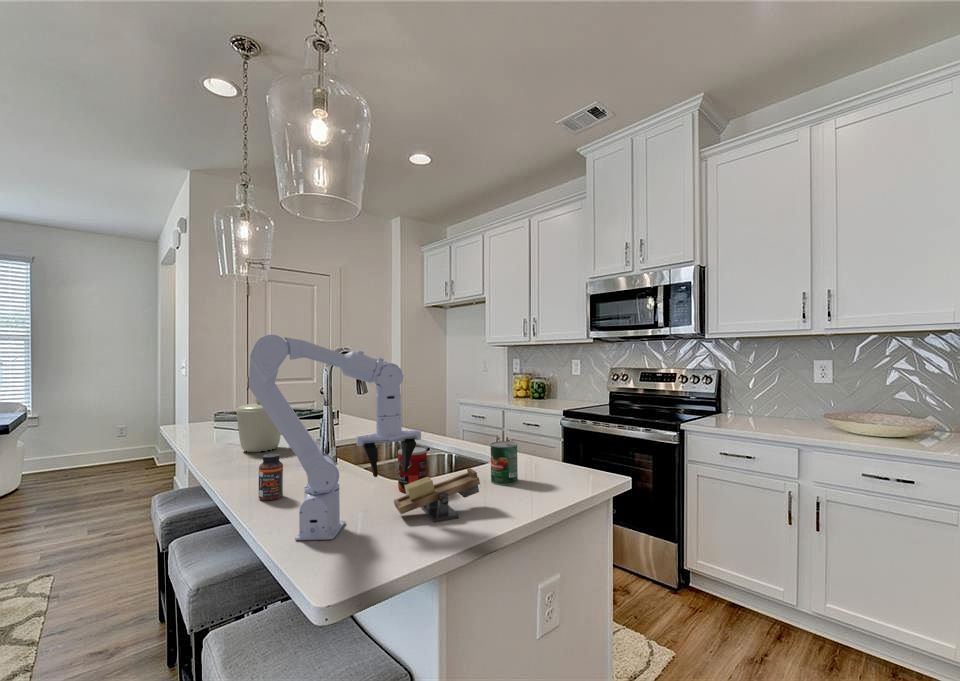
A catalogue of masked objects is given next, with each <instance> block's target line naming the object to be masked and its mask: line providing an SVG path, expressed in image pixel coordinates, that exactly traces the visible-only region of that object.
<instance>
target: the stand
mask: <svg viewBox="0 0 960 681" xmlns="http://www.w3.org/2000/svg"><path fill="white" fill-rule="evenodd" d="M420 509H421V510H422V511H423V512H424V513H425V514H426V515H427V517H428V518H429V519H430V520H431V521H432V522H433V523H439V522H445V521H450V520H455V519H456V520H457V519H459V516H460V514H458V512H457V511H455V509H453V508H452V506H450V505H449V496H448V494H447V493H446V494H439V495H438V500H437V501H435V502H432V503H430V504H427V505H424V506H422V507H420Z"/></svg>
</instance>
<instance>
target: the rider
mask: <svg viewBox="0 0 960 681" xmlns="http://www.w3.org/2000/svg"><path fill="white" fill-rule="evenodd" d="M434 485H435V484H434V481H433V479H431V477H430V476H427V477H425V478H423V479H420V480H417V481H414V482H412V483H409V484H406V485H404V486H405V490H406V493H405V494H406V495H407V499H408V500H409V501H410V502H412V501H415V500H418V499H420V498H423V497H426V496H428V495H431V494H434V493H435V489H434Z"/></svg>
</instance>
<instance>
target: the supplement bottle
mask: <svg viewBox="0 0 960 681" xmlns="http://www.w3.org/2000/svg"><path fill="white" fill-rule="evenodd" d="M283 494H284V464H283V463H282V462H281V461H280V454H279V453H267V454H264V455H263V456H262V463H261V464H259V466H258V499H259V500H261V501H267V502H269V501H275V500H279V499H280V498H282V497H283V496H284V495H283Z"/></svg>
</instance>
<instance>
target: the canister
mask: <svg viewBox="0 0 960 681" xmlns="http://www.w3.org/2000/svg"><path fill="white" fill-rule="evenodd" d="M254 400H255V403H248V404H243V405H240V406H238V407H237V408H236V409H234V412H235V413H236V419H237V429H238V435H239V442H240V443H239V444H240V447H241V449H242V451H244V452H246V451H247V453H262V452H261V451H265V452H269V451H268V450H270V451H273V450H275V449H277V448H278V446H279V445H280V442H281V441H280V440H281V436H282V434H281V433H280V431H279V430H278V429H277V427H276V426H275V424H274V423H273V421H272V420H271V419H270V417H269V416H268V414H267V413H266V411H265V410H264V408H263V407H262V406H261V404H260V403H259V401H258V400H257V398H256V397H255V399H254ZM276 447H277V448H276ZM272 449H273V450H272Z"/></svg>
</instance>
